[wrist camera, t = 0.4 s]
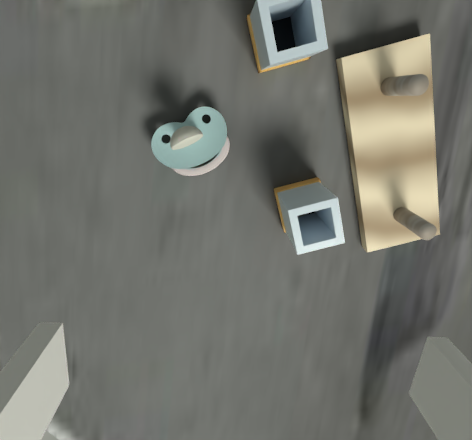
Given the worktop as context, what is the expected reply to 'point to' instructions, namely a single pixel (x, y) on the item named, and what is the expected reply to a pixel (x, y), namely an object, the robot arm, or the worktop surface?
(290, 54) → the sleeve
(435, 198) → the pin board
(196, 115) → the pacifier
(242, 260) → the worktop surface
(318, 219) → the sleeve
